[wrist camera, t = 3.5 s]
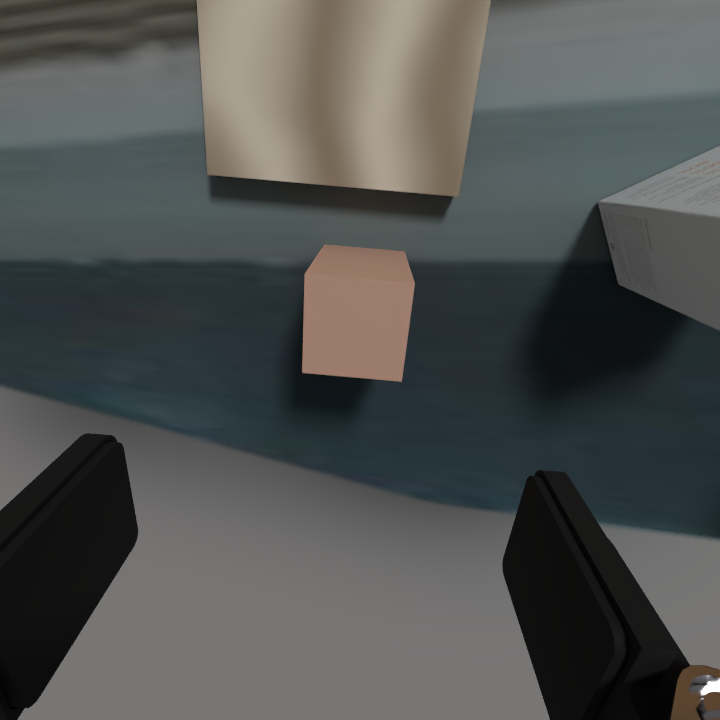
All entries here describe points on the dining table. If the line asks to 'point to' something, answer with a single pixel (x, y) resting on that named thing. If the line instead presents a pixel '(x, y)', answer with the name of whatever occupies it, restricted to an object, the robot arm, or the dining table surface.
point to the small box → (670, 237)
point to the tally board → (341, 90)
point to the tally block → (357, 313)
